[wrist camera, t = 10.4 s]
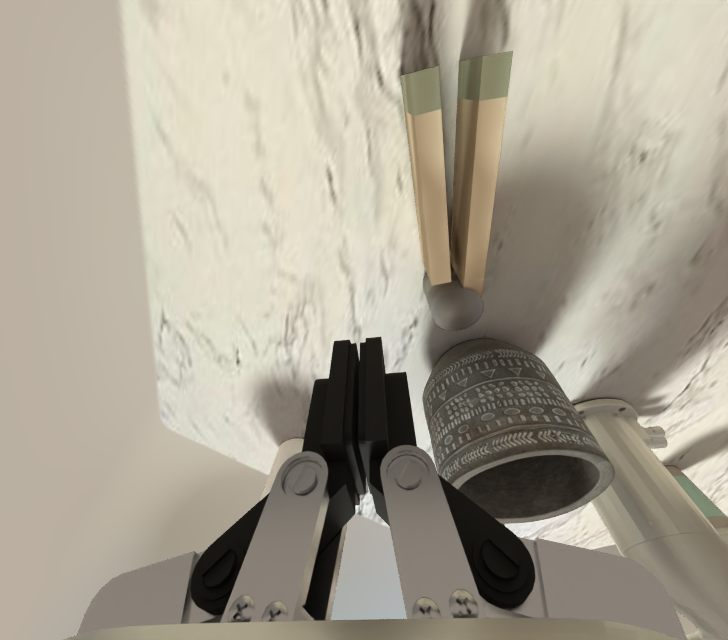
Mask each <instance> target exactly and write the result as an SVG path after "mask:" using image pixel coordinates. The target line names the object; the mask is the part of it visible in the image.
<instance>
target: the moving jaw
mask: <svg viewBox="0 0 728 640" xmlns="http://www.w3.org/2000/svg"><path fill="white" fill-rule="evenodd" d="M400 77H401V85H402V94H403V102H404V111H405V119H406V127H407V136H408V144H409V153H410V161H411V170H412V178H413V186H414V195H415V203H416V212H417V220H418V229H419V237H420V246H421V254H422V261H423V264H424V267H425V269H426V272H427V275H428V277H429V280H430V283H431V285H432V286H433V285H438V284H443V283H448V282H451V270H450V253H449V236H448V218H447V201H446V184H445V166H444V149H443V132H442V114H441V97H440V80H439V66H436V67H431V68H427V69H423V70H419V71H416V72H412V73H409V74H405V75H401V76H400Z"/></svg>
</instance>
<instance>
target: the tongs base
mask: <svg viewBox="0 0 728 640" xmlns="http://www.w3.org/2000/svg"><path fill="white" fill-rule="evenodd" d="M512 56H513V51H510V52H504V53H498V54H492V55H486V56H481V57H476V58H472V59H467V60H463V61H459V76H458V98H457V119H456V140H455V162H454V183H453V205H452V226H451V247H450V270H451V282H448V283H443V284H438V285H433V286H432V285H431V283H430V280H429V277H428V275H427V274H426V275H425V277H424V280H423V289H424V292H425V295H426V298H427V301H428V304H429V307H430V310H431V313H432V316H433V319H434V321H435V323H436V324H437V325H438V326H439V327H441V328H442V329H445V330H450V331H457V330H462V329H465V328H467V327H469V326H471V325H473V324H474V323H475V322H476V321H477V320H478V319H479V318H480V316H481V315H482V313H483V309H484V303H483V300H482V292H483V284H484V276H485V268H486V261H487V253H488V245H489V237H490V229H491V221H492V213H493V205H494V197H495V190H496V182H497V174H498V166H499V158H500V150H501V142H502V134H503V127H504V119H505V111H506V103H507V95H508V87H509V79H510V71H511V64H512Z"/></svg>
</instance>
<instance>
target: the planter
mask: <svg viewBox="0 0 728 640" xmlns="http://www.w3.org/2000/svg"><path fill="white" fill-rule="evenodd" d="M423 406H424V412H425V417H426V421H427V425H428V429H429V433H430V438H431V443H432V449H433V454H434V459H435V463H436V468H437V472H438V474H439V475H440V476H441V477H442V478H444V479H445V480H446V481H447V482H449V483H450V484H451V485H453V486H454V487H455V488H456V489H458V490H459V491H460V492H462V493H463V494H464V495H465V496H467V497H468V498H469V499H471V500H472V501H473V502H474V503H476V504H477V505H478V506H479V507H481V508H482V509H483V510H485V511H486V512H487V513H488V514H490V515H491V516H492V517H494V518H495V519H496V520H497V521H499V522H500V523H501V524H505V523H524V522H533V521H539V520H544V519H548V518H552V517H556V516H559V515H562V514H565V513H568V512H570V511H573V510H575V509H577V508H579V507H581V506H583V505H585V504H587V503H588V502H590V501H591V500H593V499H595V498H596V497H597V496H599V495H600V494H601V493H603V492H604V491H605V490H606V489H607V488H608V487H609V485H610V484H611V482H612V481H613V479H614V476H615V470H614V467H613V465H612V464H611V462H610V460H609V459H608V457H607V456H606V454H605V453H604V451H603V450H602V448H601V447H600V445H599V444H598V443H597V440H596V439H595V437H594V436H593V434H592V433H591V431H590V430H589V428H588V427H587V425H586V424H585V422H584V421H583V419H582V418H581V416H580V415H579V413H578V412H577V411H576V409H575V408H574V406H573V405H572V403H571V402H570V401H569V399H568V398H567V396H566V395H565V393H564V392H563V390H562V388H561V387H560V385H559V384H558V382H557V380H556V379H555V377H554V376H553V374H552V373H551V372H550V370H549V369H548V367H547V366H546V365H545V363H544V362H543V361H542V360H541V359H540V358H538V357H537V356H535V355H533V354H532V353H530V352H527V351H525V350H523V349H521V348H518V347H516V346H513V345H510V344H507V343H504V342H501V341H498V340H494V339H473V340H469V341H465V342H462V343H460V344H458V345H456V346H454V347H452V348H451V349H449V350H448V351H447V352H445V353H444V354H443V355H442V356H441V358H440V359H439V360H438V362H437V364H436V366H435V367H434V369H433V371H432V373H431V375H430V377H429V379H428V381H427V384H426V386H425V389H424V392H423Z"/></svg>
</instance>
